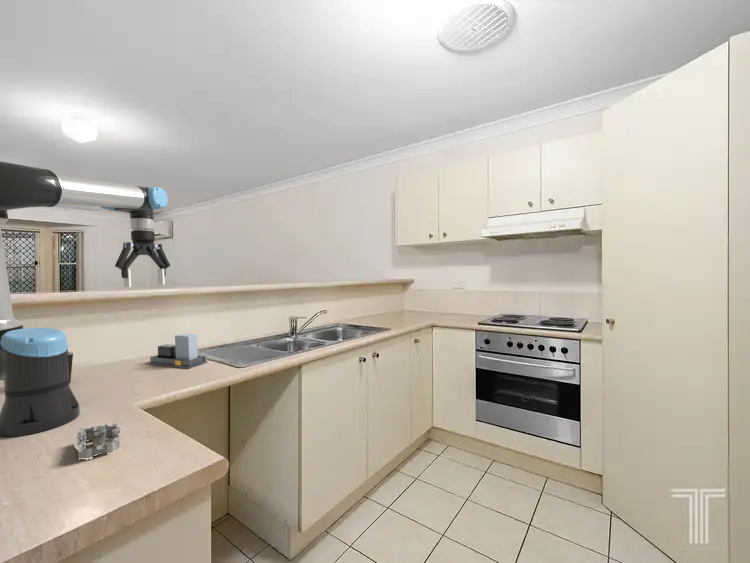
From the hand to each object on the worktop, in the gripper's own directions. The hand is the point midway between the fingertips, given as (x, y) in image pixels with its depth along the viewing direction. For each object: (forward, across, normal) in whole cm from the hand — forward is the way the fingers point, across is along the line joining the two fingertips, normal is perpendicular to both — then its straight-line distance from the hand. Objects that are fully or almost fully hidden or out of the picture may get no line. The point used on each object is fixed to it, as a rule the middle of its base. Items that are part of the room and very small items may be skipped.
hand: (145, 285), depth 134 cm
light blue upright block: (+31, -7, +12) cm, 34 cm away
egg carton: (+32, +48, +48) cm, 75 cm away
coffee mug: (+32, +24, -12) cm, 42 cm away
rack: (+32, -7, +7) cm, 33 cm away
